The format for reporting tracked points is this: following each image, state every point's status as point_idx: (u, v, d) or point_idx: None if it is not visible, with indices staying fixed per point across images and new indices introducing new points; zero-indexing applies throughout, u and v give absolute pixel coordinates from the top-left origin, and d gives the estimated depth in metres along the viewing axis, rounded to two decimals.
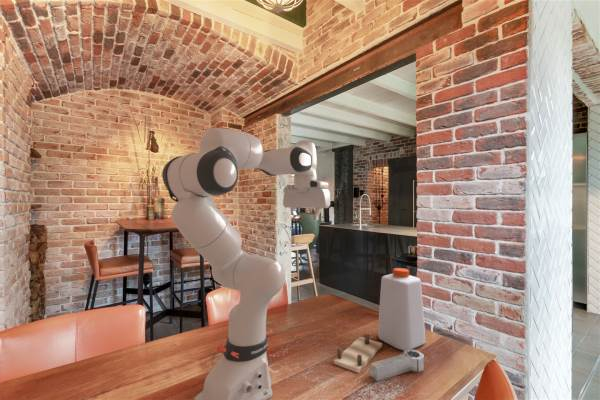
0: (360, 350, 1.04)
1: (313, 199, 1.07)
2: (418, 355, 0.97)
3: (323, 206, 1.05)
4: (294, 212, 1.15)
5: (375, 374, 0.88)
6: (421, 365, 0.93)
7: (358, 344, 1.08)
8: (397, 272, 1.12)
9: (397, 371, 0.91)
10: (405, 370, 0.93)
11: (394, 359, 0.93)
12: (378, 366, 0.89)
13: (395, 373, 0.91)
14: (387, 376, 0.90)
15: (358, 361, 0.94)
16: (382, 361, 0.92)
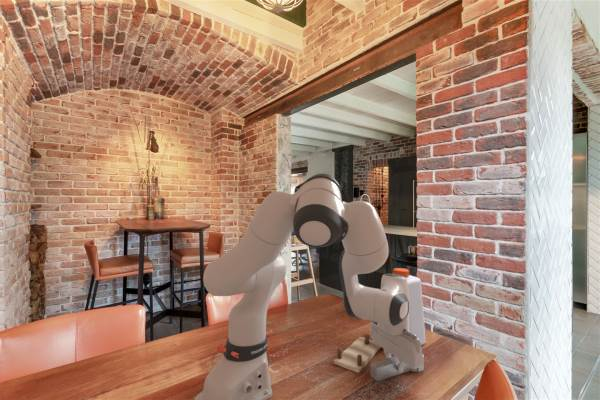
0: (360, 350, 1.04)
1: None
2: None
3: None
4: None
5: (375, 374, 0.88)
6: None
7: (358, 344, 1.08)
8: (397, 272, 1.12)
9: (397, 371, 0.91)
10: (405, 370, 0.93)
11: (394, 359, 0.93)
12: (378, 366, 0.89)
13: (395, 373, 0.91)
14: (387, 376, 0.90)
15: (358, 361, 0.94)
16: (382, 361, 0.92)
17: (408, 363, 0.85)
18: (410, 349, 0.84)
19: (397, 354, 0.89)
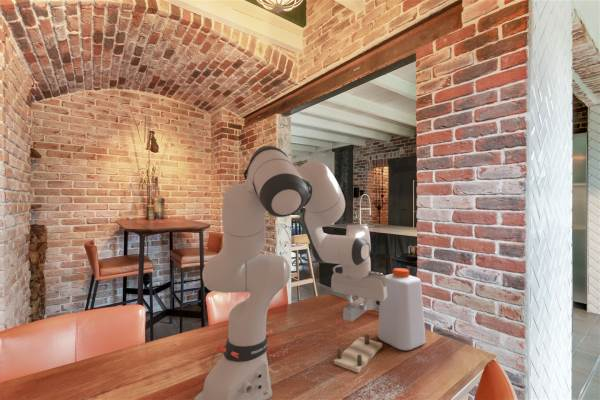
0: (360, 350, 1.04)
1: None
2: None
3: None
4: None
5: (349, 315, 0.95)
6: (375, 303, 1.08)
7: (358, 344, 1.08)
8: (397, 272, 1.12)
9: (361, 311, 1.02)
10: (365, 310, 1.04)
11: (357, 301, 1.03)
12: (351, 308, 0.96)
13: (360, 313, 1.01)
14: (356, 316, 0.98)
15: (358, 361, 0.94)
16: (350, 304, 1.00)
17: (376, 298, 0.97)
18: (379, 285, 0.96)
19: (364, 294, 0.99)
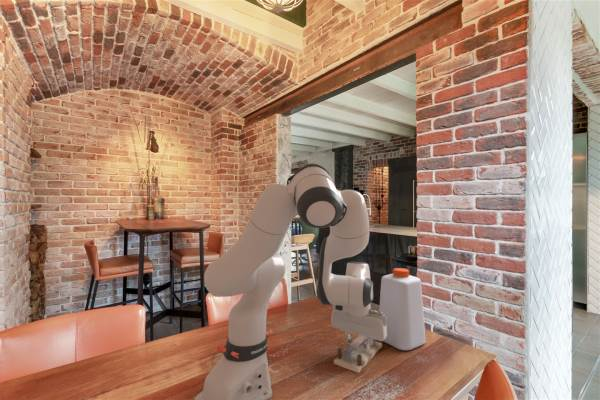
0: None
1: None
2: None
3: None
4: (368, 341, 1.00)
5: (349, 358, 0.95)
6: (375, 340, 1.08)
7: None
8: (397, 272, 1.12)
9: (361, 351, 1.02)
10: None
11: (357, 340, 1.03)
12: (351, 350, 0.96)
13: (360, 353, 1.01)
14: (356, 357, 0.98)
15: (358, 361, 0.94)
16: (350, 345, 1.00)
17: (377, 338, 0.97)
18: (379, 325, 0.96)
19: (364, 333, 0.99)
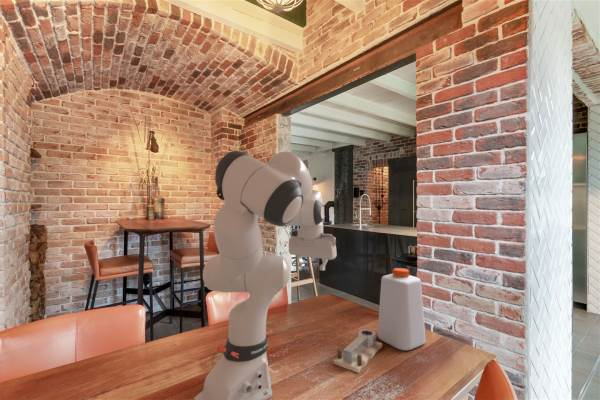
0: None
1: None
2: (369, 333, 1.11)
3: None
4: None
5: (349, 358, 0.95)
6: (375, 340, 1.08)
7: None
8: (397, 272, 1.12)
9: (361, 351, 1.02)
10: (365, 348, 1.04)
11: (357, 340, 1.03)
12: (351, 350, 0.96)
13: (360, 353, 1.01)
14: (356, 357, 0.98)
15: (358, 361, 0.94)
16: (350, 345, 1.00)
17: (326, 257, 1.05)
18: (328, 244, 1.05)
19: (316, 254, 1.08)
